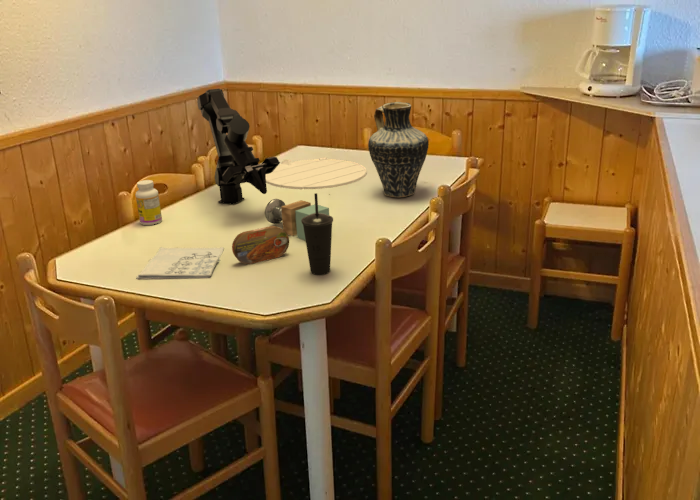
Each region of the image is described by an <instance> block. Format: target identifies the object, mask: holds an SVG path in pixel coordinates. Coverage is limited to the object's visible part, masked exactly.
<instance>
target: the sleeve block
mask: <svg viewBox="0 0 700 500" xmlns="http://www.w3.org/2000/svg"><path fill="white" fill-rule="evenodd" d="M308 206H311V202H310V201H306V200H297V201H295V202H292V203H288V204H285V206H282V207H281V208H282V221H281V222H282V229H283V230H284V231H285V232H286V233H287V234H288V236H292V237H294V236H297V226H296V219H295V214H296V212H295V211H296V210H299V209H302V208H305V207H308Z"/></svg>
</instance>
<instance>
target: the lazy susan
mask: <svg viewBox="0 0 700 500" xmlns="http://www.w3.org/2000/svg"><path fill="white" fill-rule="evenodd" d="M366 176H367V168H366V167H365V166H364V165H362V164H361V163H357V162H354V161H350V160H343V159H331V158H329V159H328V157H325V156H324V157H321V158H318V159H314V158H313V159H302V160H301V159H300V160H295V161H294V160H293V161H292V160H291V159H290V158H289V159H288V158H287V159H283V160H282V161H281V162H280V164H279V165H278V166H277V167H276V168H275V169H274V171H273V172H271V173H269V174H266V184H268V185H270V186H274V187H276V188H283V189H284V188H285V189H293V190H322V189H331V188H337V187H342V186H347V185H350V184H354V183H356V182H359V181H360V180H362V179H364V178H365V177H366Z"/></svg>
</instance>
